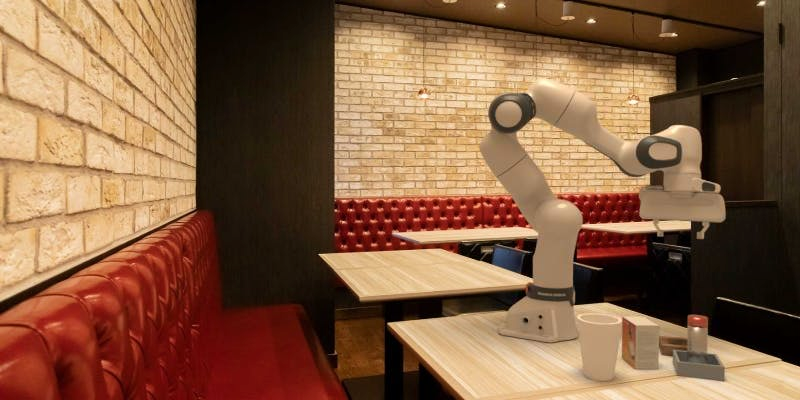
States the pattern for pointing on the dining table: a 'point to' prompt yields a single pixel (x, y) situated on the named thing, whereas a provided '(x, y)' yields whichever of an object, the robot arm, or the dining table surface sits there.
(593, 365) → the foam cup
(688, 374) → the tray
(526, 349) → the dining table surface
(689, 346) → the red-lidded jar
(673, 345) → the wooden square frame
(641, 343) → the small box
